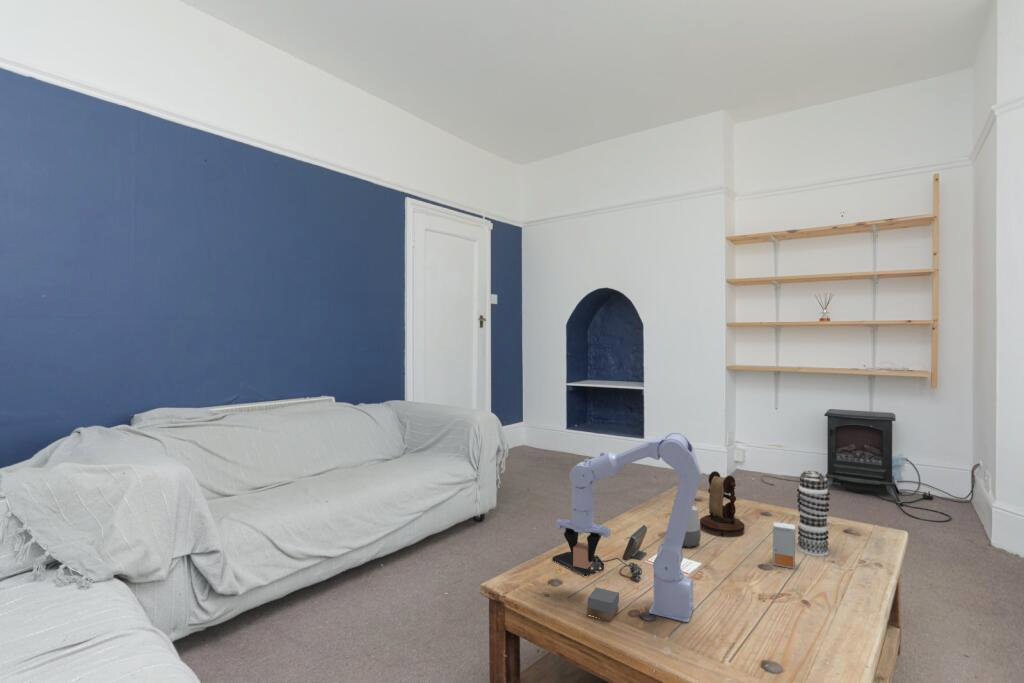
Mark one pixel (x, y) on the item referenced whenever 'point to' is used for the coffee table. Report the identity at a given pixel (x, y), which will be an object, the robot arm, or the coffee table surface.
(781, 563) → the skincare box
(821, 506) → the decorative candle
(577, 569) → the phone
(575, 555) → the terracotta block
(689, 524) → the smart speaker
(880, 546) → the coffee table surface
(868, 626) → the coffee table surface
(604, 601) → the charcoal slab
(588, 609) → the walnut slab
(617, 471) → the robot arm
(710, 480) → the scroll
